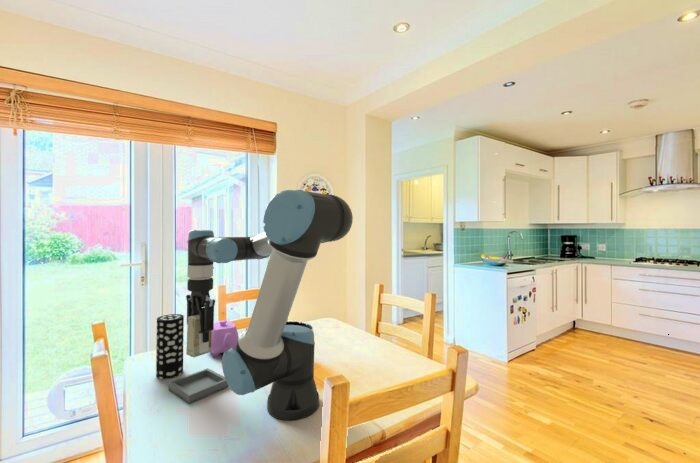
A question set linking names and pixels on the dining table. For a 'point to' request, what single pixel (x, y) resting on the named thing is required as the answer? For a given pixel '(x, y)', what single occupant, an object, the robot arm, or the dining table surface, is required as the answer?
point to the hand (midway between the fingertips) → (199, 349)
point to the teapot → (223, 337)
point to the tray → (198, 385)
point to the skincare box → (195, 336)
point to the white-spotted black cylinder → (169, 346)
